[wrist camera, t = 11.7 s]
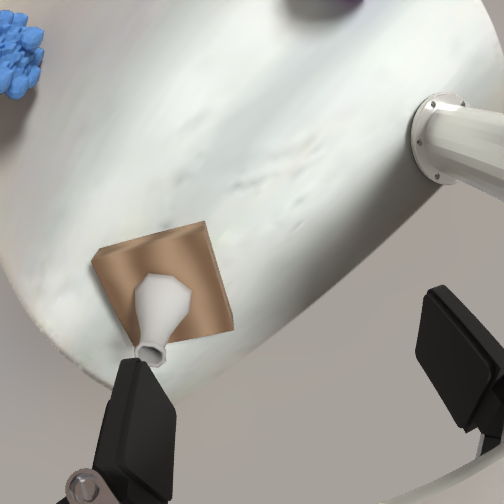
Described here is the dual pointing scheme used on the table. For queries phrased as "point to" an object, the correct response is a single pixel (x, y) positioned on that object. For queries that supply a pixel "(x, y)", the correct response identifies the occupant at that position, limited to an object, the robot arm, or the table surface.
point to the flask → (159, 314)
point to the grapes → (18, 54)
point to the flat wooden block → (173, 264)
